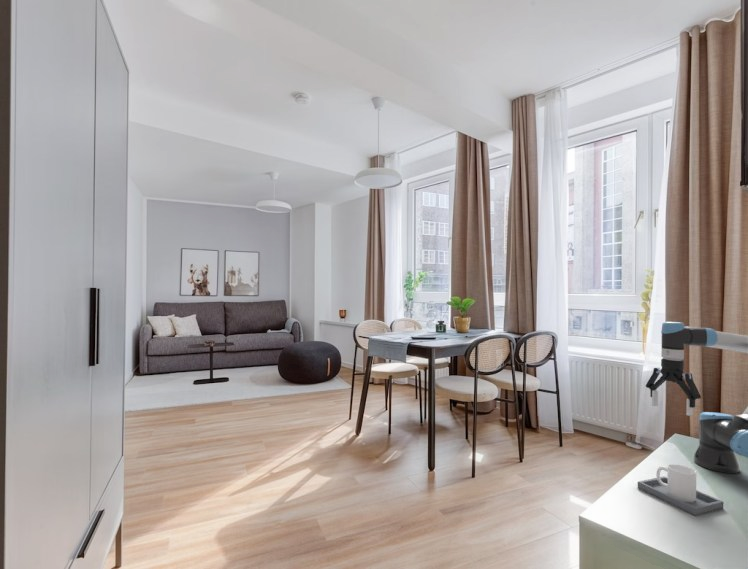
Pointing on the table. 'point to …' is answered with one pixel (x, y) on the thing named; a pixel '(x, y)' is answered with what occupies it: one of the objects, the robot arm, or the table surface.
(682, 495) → the cup
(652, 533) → the table surface
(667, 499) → the grey tray
